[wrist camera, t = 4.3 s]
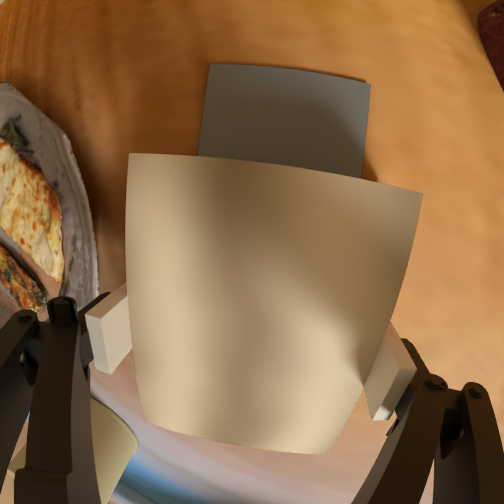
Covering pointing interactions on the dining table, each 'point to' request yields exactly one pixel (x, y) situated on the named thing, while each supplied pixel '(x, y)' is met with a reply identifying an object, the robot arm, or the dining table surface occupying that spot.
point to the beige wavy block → (259, 295)
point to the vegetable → (494, 36)
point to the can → (101, 449)
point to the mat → (285, 118)
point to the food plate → (41, 209)
